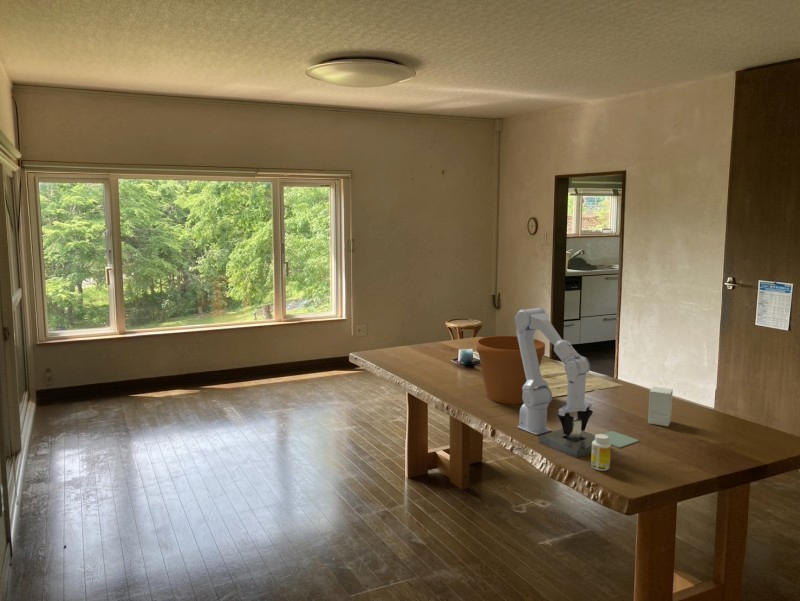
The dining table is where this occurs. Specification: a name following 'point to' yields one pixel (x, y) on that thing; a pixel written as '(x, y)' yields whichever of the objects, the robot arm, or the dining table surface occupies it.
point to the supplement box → (660, 406)
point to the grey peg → (575, 430)
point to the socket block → (568, 443)
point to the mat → (619, 439)
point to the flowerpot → (504, 367)
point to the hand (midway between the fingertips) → (574, 432)
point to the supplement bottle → (601, 453)
